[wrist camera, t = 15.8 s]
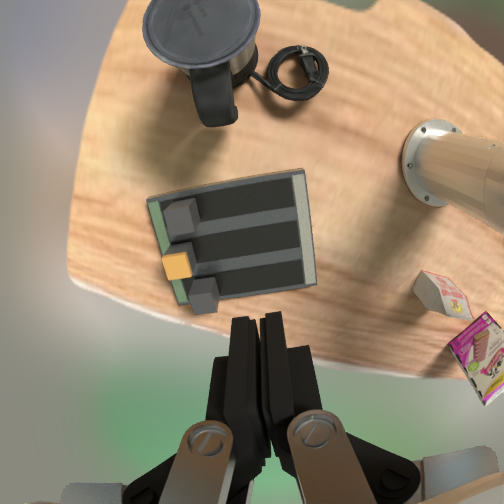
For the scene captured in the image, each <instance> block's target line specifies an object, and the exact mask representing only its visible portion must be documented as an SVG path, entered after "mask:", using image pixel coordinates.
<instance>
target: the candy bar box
mask: <svg viewBox="0 0 504 504" xmlns="http://www.w3.org/2000/svg"><path fill="white" fill-rule="evenodd" d="M448 345H449V347H450V349H451V352H452V354H453V356H454V358H455V359H456V361H457V362H458V364H459V365H460V367H461V368H462V370H463V372H464V373H465V375H466V377H467V378H468V380H469V381H470V383H471V385H472V386H473V388H474V390H475V391H476V393H477V395H478V397H479V399H480V400H481V402H482V404H483V405H484V406H487V405H488V404H489V403H491V402H492V401H493V400H494V399H495V398H496V397H498V396H499V395H500V394H502V393H503V392H504V331H503V329H502V328H501V327H500V326H499V325H498V324H497V322H496V321H495V320H494V319H493V318H492V317H491V316H490V315H489V313H488V312H487V311H485V312H484V313H483V314H482V315H481V316H480V317H479V318H478V319H477V320H476V321H474V322H473V323H472V324H471V325H470V326H469V327H468V328H466V329H465V330H464V331H463V332H462V333H461V334H459V335H458V336H457V337H456V338H454V339H453V340H452V341H451V342H449V343H448Z"/></svg>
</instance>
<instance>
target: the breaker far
mask: <svg viewBox="0 0 504 504" xmlns="http://www.w3.org/2000/svg"><path fill="white" fill-rule="evenodd" d="M188 297H189V300H190V303H191V306H192V309H193V312H194V315H199V314H207V313H215V312H217V309H218V304H219V298H220V294H219V290H218V286H217V283H216V279H215V277H210V278H203V279H197V280H193V283H192V286H191V289H190V292H189V295H188Z"/></svg>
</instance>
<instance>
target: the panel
mask: <svg viewBox="0 0 504 504" xmlns="http://www.w3.org/2000/svg"><path fill="white" fill-rule="evenodd" d="M190 198H195V199H196V203H197V207H198V211H199V216H200V220H201V221H200V223H199V225H198V227H197V229H196V231H195V232H191V233H185V234H180V235H175V236H170V235H169V231H168V227H167V224H166V220H165V217H164V213H163V211H164V210H165V209H166V208H167V207H168V206H169V205H170V204H171V203H172V202H176V201H181V200H185V199H190ZM146 201H147V205H148V208H149V212H150V216H151V219H152V223H153V226H154V229H155V233H156V236H157V240H158V243H159V246H160V249H161V253H162V256H163V255H164V253H165V252H166V250H167V249H168V247H169V245H174V244H180V243H185V242H192V246H193V250H194V254H195V257H196V261H197V263H196V266H195V269H194V271H193V274H192V277H188V278H181V279H175V280H170V281H171V284H172V287H173V289H174V292H175V295H176V298H177V301H178V304H179V305H183V304H191V303H190V300H189V297H188V295H189V292H190V289H191V286H192V283H193V280H197V279H203V278H210V277H215V279H216V283H217V286H218V290H219V294H220V298H219V300H222V299H229V298H237V297H244V296H251V295H257V294H264V293H271V292H277V291H283V290H290V289H296V288H302V287H308V286H314V285H317V277H316V265H315V254H314V244H313V234H312V225H311V216H310V208H309V199H308V192H307V184H306V176H305V170H304V169H303V168H298V169H292V170H285V171H278V172H272V173H266V174H259V175H253V176H248V177H242V178H236V179H231V180H226V181H220V182H215V183H210V184H205V185H200V186H195V187H190V188H186V189H181V190H176V191H172V192H168V193H163V194H159V195H155V196H150V197H149V198H147V199H146Z"/></svg>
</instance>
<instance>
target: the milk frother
mask: <svg viewBox="0 0 504 504" xmlns="http://www.w3.org/2000/svg"><path fill="white" fill-rule="evenodd" d="M259 23H260V8H259V5H258V2H257V0H152V1H151V2H150V4H149V5H148V7H147V10H146V12H145V14H144V17H143V26H142V32H143V37H144V40H145V42H146V44H147V47H148V48H149V49H150V51H151V52H152V53H153V54H154V55H155V56H156V57H158V58H159V59H160V60H161V61H163V62H165V63H167V64H169V65H172V66H176V67H178V68H179V69H180V70H181V71H183V72H184V73H185V74H186V75H187V77H188V78H189V79H190V81H191V86H192V92H193V97H194V102H195V106H196V109H197V112H198V115H199V118H200V120H201V122H202V123H203V125H205V126H206V127H219V126H226V125H230V124H233V123H234V122H235V121H236V120H237V119H238V110H237V107H236V106H235V105H234V99H233V88H235V87H238V86H239V85H241V84H243V83H244V82H245V81H246V80H248V79H249V77H250V76H252V77H253V78H255V79H256V80H258V81H259V82H260V83H262V84H263V85H264V86H266V87H267V88H268V89H270V90H271V91H273V92H274V93H276V94H277V95H279V96H281V97H283V98H285V99H287V100H292V101H304V100H307V99H310V98H312V97H314V96H315V95H316V94H317V93H319V91H320V90H321V89H322V88H323V87H324V85H325V83H326V81H327V78H328V74H329V67H328V63H327V61H326V59H325V57H324V56H323V55H322V54H321V53H320V52H319V51H317V50H315V49H313V48H311V47H307V46H305V45H302V46H299V45H297V46H289V47H286V48H283V49H281V50H280V51H278V53H277V54H276V55H275V56H274V57H273V58H272V59H271V60H270V63H269V65H268V69H267V75H268V79H269V82H267V81H266V80H265V79H264V78H263V77H261V76H260V75H259V74H258V73H256V72H255V71H254V70H255V68H256V65H257V62H258V50H257V46H256V44H255V35H256V32H257V30H258V27H259ZM297 53H302V55H299V56H298V61H299V65H300V66H302V67H303V70H304V72H305V77H307V78H308V83H309V84H308V85H307V86H306V87H304V88H300V89H294V88H290V87H287V86H285V85H284V84H283V83H281V81H280V80H279V78H278V75H277V72H278V68H279V66H280V64H281V63H282V61H283V60H284V59H286V58H287V57H289V56H291V55H293V54H297ZM314 61H316V62H317V65H318V72H317V70H316V69H314ZM316 74H317V75H316Z"/></svg>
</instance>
